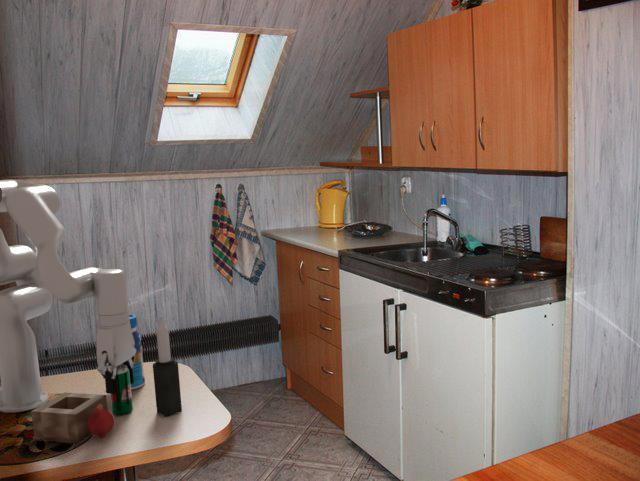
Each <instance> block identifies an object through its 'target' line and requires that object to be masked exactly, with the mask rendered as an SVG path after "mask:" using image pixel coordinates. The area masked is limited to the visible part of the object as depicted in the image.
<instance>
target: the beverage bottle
mask: <svg viewBox="0 0 640 481" xmlns="http://www.w3.org/2000/svg"><path fill="white" fill-rule="evenodd" d="M129 320H130V326H131V330H132V335H133V342H134V348H135V349H136V353H135V356H134V361H133V365H134V366H133V368H131V369H133V378H134V383H133V384H131V391H132V390H136V389H140V388H141V387H143V386H144V385H145V383H146V379H145V371H144V362H143V361H144V360H143V359H144V358H143V346H142V344H141V341H142V337H141V335H140V333H139V331H138V330H137V327H138V320H137V316H136V315H135V314H130V313H129ZM120 365H121V364H120Z"/></svg>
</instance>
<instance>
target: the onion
mask: <svg viewBox="0 0 640 481" xmlns="http://www.w3.org/2000/svg"><path fill="white" fill-rule="evenodd" d="M87 426H88V429H89V431H90V432H91V434H92V436H95V437H97V438H100V439H105V438H106V437H107V436H108V434H110V432H112V430H113V428H114V426H115V418H114V414H113V413H112V412H111V411H109V409H108V410H106V409H104V408H103V405H98V407H97V408H96V410H94V411H93V412H92V414H91V415H90V417H89V419H88V425H87Z"/></svg>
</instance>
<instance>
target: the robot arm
mask: <svg viewBox="0 0 640 481" xmlns="http://www.w3.org/2000/svg"><path fill="white" fill-rule="evenodd" d="M0 188H1V190H2V200H1V202H0V213H8V214H9V215H10V217H11V218H12V219H13V221H14V222H15V224H16V225H17V226H18V227H19V229H20V230H21V232H23V235H25V237H26V238H27V239H28V241H29V242H30V243H31V245H32V246H33V247H34V249H35V250H33V249H32V248H31V247H30V246H27V245H23V244H15V245H10V246H9V245H8V244H9V243H8V242H7V240H6V237H5V235H4V232H3V230H2V229H1V227H0V286H2V285H3V286H4V285H6V284H10V283H14V282H15V284H16V286H15V285H14V286H13V287H8V288H5V289H3V290H0V384H1V385H0V412H2V413H7V414H8V413H9V414H10V413H11V414H13V413H21V412H25V411H30V410H31V411H32V410H34V409H36V408H38V407H40V406H41V405H43V404H45V403H47V402H48V401H50V400H49V399H50V398H49V394H48V393H47V392H43V391H42V383H41V382H42V381H41V374H40V365H39V356H38V349H37V348H38V347H37V341H36V339H37V338H36V336H35V333H34V331H33V329H32V328H31V326H30V325H29V323H28V321H29V320H31V319H34V318H37V317H39V316H42V315H44V314H46V313H47V312H49V311H50V309H51V308H52V305H53V297H54V298H55V299H56V300H57V301H58V302H60V303H62V304H65V305H73V304H76V303H80V302H82V301H85V300H88V299H91V298H94V299H95V307H96V316H97V317H96V318H97V326H98V328H97V330H96V337H95V338H96V343H95V344H96V345H95V346H96V362H97V368H96V369H97V372H99V373H100V375H101V376H102V377H103V378H102V379H103V380H104V382H105V383H104V384H105V393H106V394H107V395H110V394H118V393H119V389H118V379H117V378H115V377H116V369H117V366H119V365H120V364H121V365H127V368H128V369H129V374H130V384H133V383H134V378H133V369H131V368H133V366H134V365H133V361H134V356H135V353H136V349H135V348H134V342H133V335H132V330H131V326H130V320H129V314H130V312H129V300H128V287H127V280H126V279H127V278H126V274H125V271H124V270H122V269H119V268H109V269H108V268H107V269H103V268H99V267H93V266H92V267H90V266H89V267H85V268H81V269H78V270H74V271H70V272H69V271H68V270H67V269H66V267H65V266H64V265H63V263H62V261H61V260H60V258H59V256H58V246H59V245H60V244H61V243H62V242H63V241H64V239H65V238H66V237H67V236H66V235H67V231H66V228H65V227H64V226H63V225H62V223H61V222H60V221H59V219H58V218H57V217H56V214H58V212H59V211H60V209H61V205H62V204H61V202H62V201H61V198H60V196H59V193H58V192H57V191H56V190H55V189H54V188H52V187H50V186H48V185H46V184H41V183H36V182H35V183H34V182H29V181H24V180H19V179H1V180H0ZM109 364H110V365H109ZM110 368H112V372H110V371H109V370H110Z"/></svg>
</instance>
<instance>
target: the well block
mask: <svg viewBox="0 0 640 481" xmlns="http://www.w3.org/2000/svg"><path fill="white" fill-rule="evenodd" d="M107 397H108V396H107V394H95V393H78V392H65V391H64V392H63V393H61V394H59V395H57V396H56V397H54V398H52V399H51V400H48V401H47V402H46V403H45V404H43V405H41V406H39V407H37V408H34V409H32V410H31V411H30V413H31V420H32V421H31V422H32V427H33V428H32V430H33V437H34V440H35V439H41V440H40V441H42V440H45V441H46V442H53V441H56V442H55V443H65V444H66V443H67V444H77V445H78V444H80V443H82V442H83V441H85V440H87V438H89V437H91V436H93V434H91V432H90V431H89V429H88V426H87V425H88V419H89V417H90V415H91V414H92V412H93V411H94V410H96V408H97V407H98V405H103V408H104V409H106V410H108V411H109V408H108V407H109V405H108V398H107ZM45 441H44V442H45Z"/></svg>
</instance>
